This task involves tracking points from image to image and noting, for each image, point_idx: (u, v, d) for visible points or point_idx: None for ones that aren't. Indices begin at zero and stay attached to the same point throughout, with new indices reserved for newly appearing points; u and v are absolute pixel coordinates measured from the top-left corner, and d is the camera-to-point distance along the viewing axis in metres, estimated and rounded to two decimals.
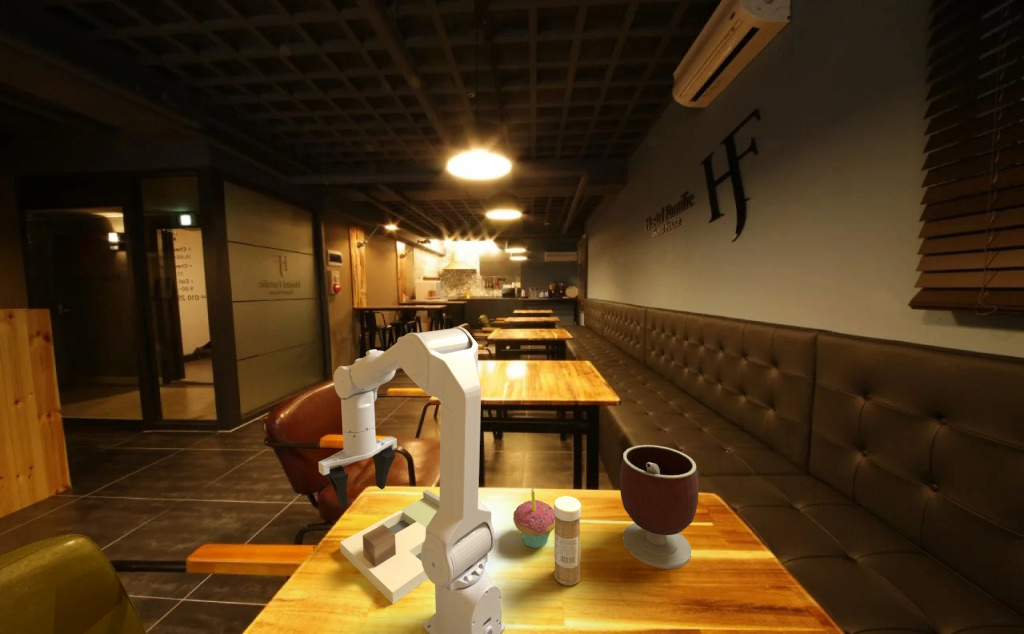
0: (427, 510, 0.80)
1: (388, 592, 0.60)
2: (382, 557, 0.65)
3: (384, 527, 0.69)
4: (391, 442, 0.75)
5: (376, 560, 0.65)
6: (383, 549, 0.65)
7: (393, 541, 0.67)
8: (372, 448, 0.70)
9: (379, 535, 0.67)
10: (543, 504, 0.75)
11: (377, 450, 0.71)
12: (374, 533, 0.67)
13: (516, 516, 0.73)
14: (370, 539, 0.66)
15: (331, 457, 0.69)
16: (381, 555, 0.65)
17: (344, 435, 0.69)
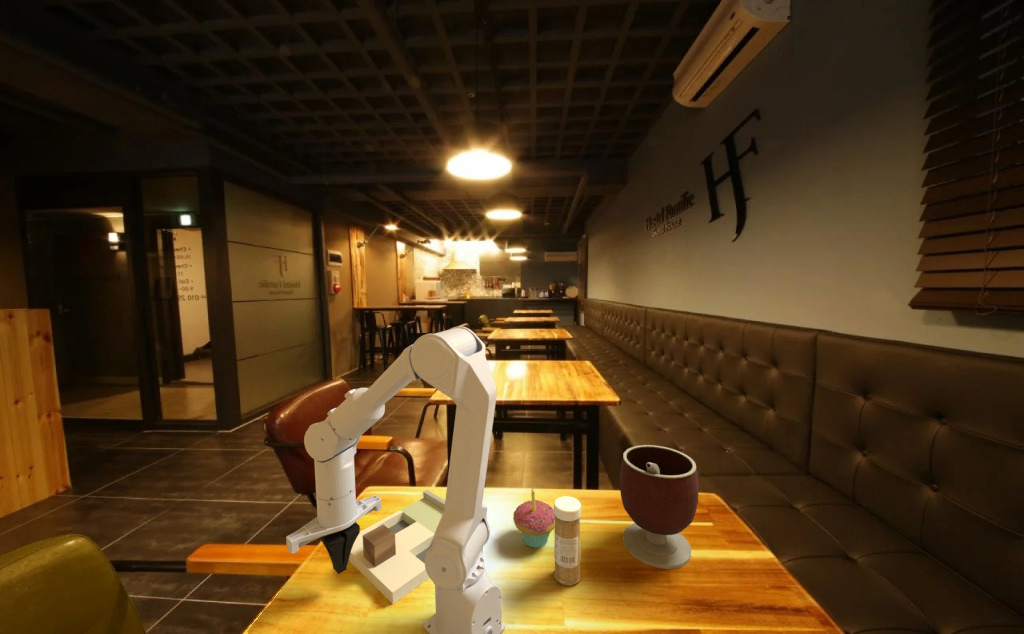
0: (427, 510, 0.80)
1: (388, 592, 0.60)
2: (382, 557, 0.65)
3: (384, 527, 0.69)
4: (375, 504, 0.65)
5: (376, 560, 0.65)
6: (383, 549, 0.65)
7: (393, 541, 0.67)
8: (351, 516, 0.60)
9: (379, 535, 0.67)
10: (543, 504, 0.75)
11: (357, 517, 0.61)
12: (374, 533, 0.67)
13: (516, 516, 0.73)
14: (370, 539, 0.66)
15: (302, 528, 0.58)
16: (381, 555, 0.65)
17: (318, 502, 0.58)
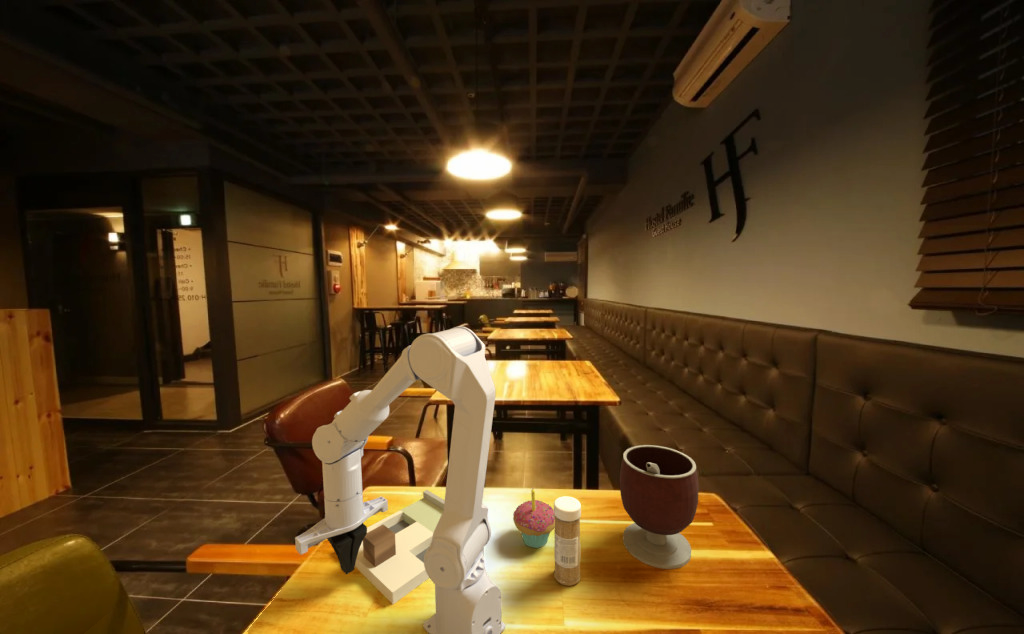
0: (427, 510, 0.80)
1: (388, 592, 0.60)
2: (382, 557, 0.65)
3: (384, 527, 0.69)
4: (381, 505, 0.66)
5: (376, 560, 0.65)
6: (383, 549, 0.65)
7: (393, 541, 0.67)
8: (358, 517, 0.61)
9: (379, 535, 0.67)
10: (543, 504, 0.75)
11: (364, 518, 0.62)
12: (374, 533, 0.67)
13: (516, 516, 0.73)
14: (370, 539, 0.66)
15: (310, 530, 0.59)
16: (381, 555, 0.65)
17: (326, 503, 0.59)
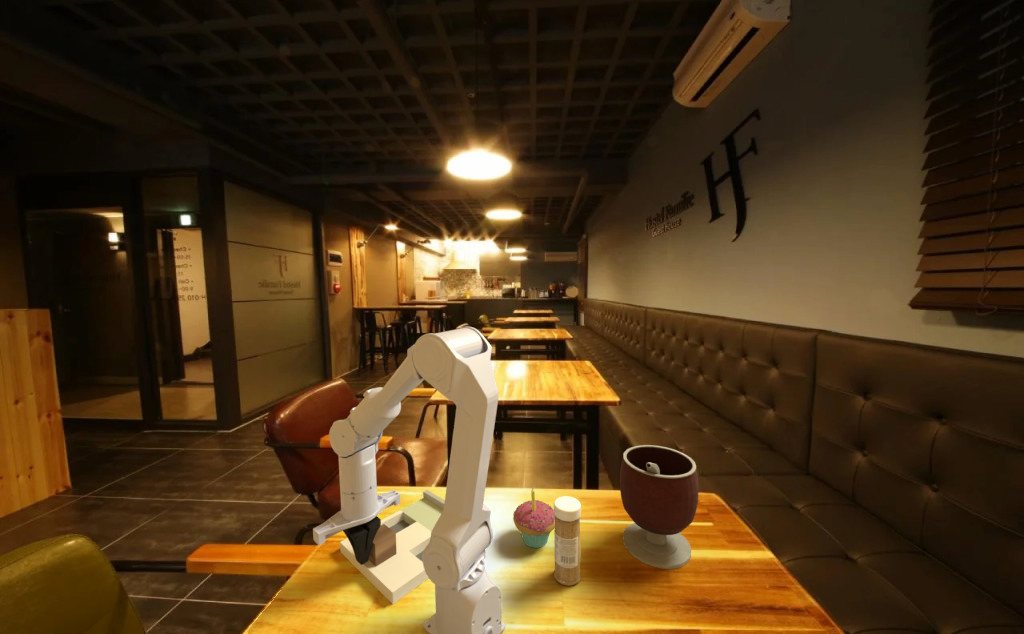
0: (427, 510, 0.80)
1: (388, 592, 0.60)
2: (383, 556, 0.66)
3: (385, 526, 0.69)
4: (394, 498, 0.68)
5: (377, 559, 0.65)
6: (383, 549, 0.66)
7: (394, 540, 0.67)
8: (373, 509, 0.63)
9: (380, 534, 0.67)
10: (543, 504, 0.75)
11: (379, 510, 0.64)
12: None
13: (516, 516, 0.73)
14: None
15: (327, 521, 0.61)
16: (382, 554, 0.65)
17: (342, 496, 0.61)
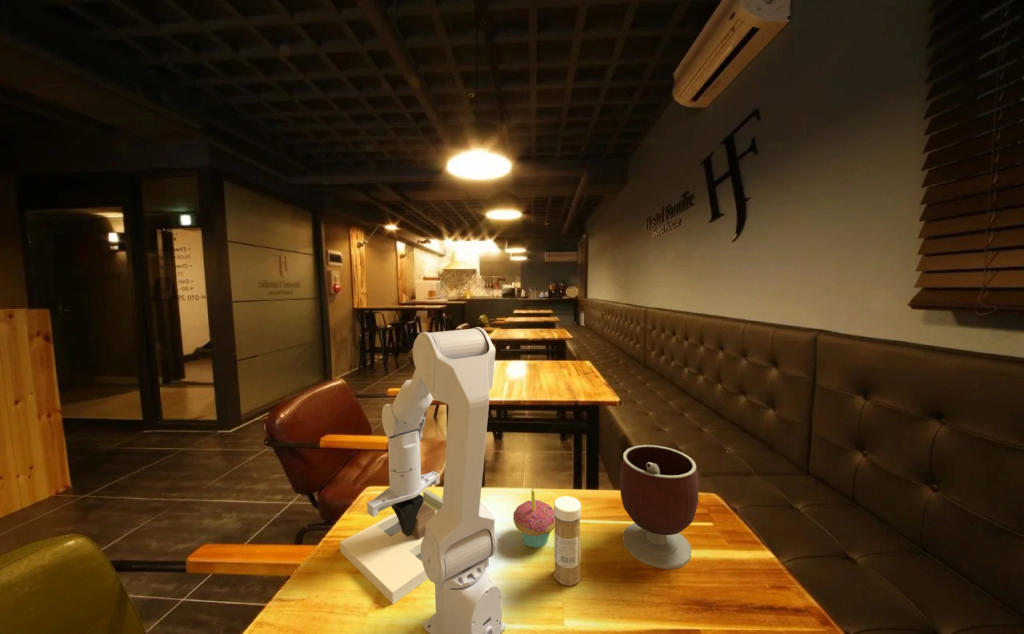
0: None
1: (388, 592, 0.60)
2: (424, 531, 0.72)
3: (424, 505, 0.76)
4: (434, 478, 0.75)
5: (419, 533, 0.71)
6: (425, 524, 0.72)
7: None
8: (418, 486, 0.70)
9: (421, 511, 0.74)
10: (543, 504, 0.75)
11: (423, 488, 0.71)
12: None
13: (516, 516, 0.73)
14: None
15: (378, 497, 0.68)
16: (423, 529, 0.72)
17: (391, 474, 0.68)
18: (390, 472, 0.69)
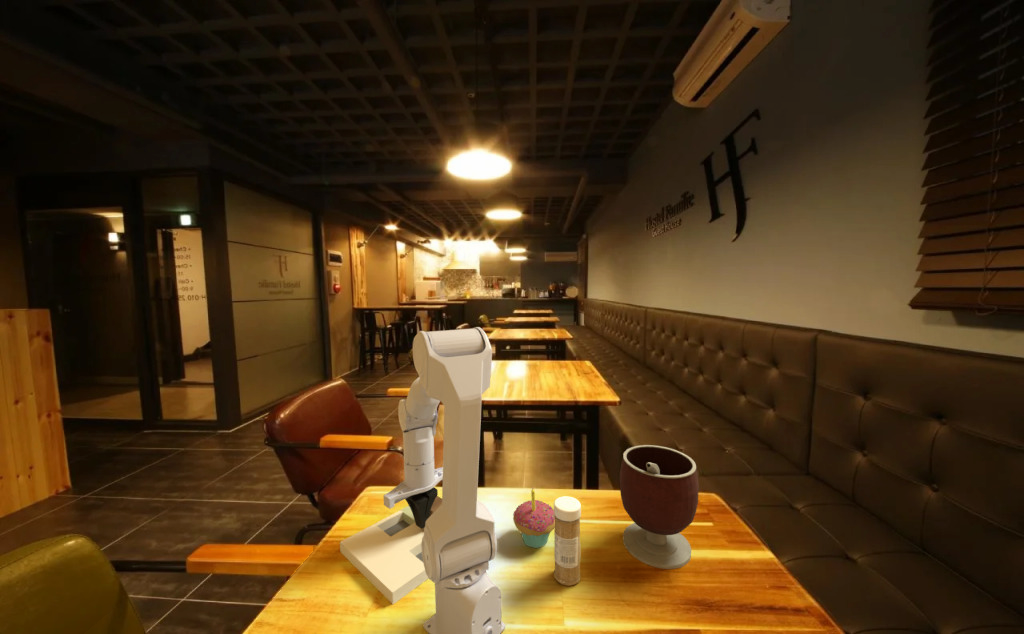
0: None
1: (388, 592, 0.60)
2: None
3: (438, 497, 0.78)
4: None
5: None
6: None
7: None
8: (432, 480, 0.72)
9: (435, 503, 0.76)
10: (543, 504, 0.75)
11: (436, 481, 0.73)
12: None
13: (516, 516, 0.73)
14: None
15: (394, 489, 0.70)
16: None
17: (406, 467, 0.71)
18: (405, 466, 0.71)
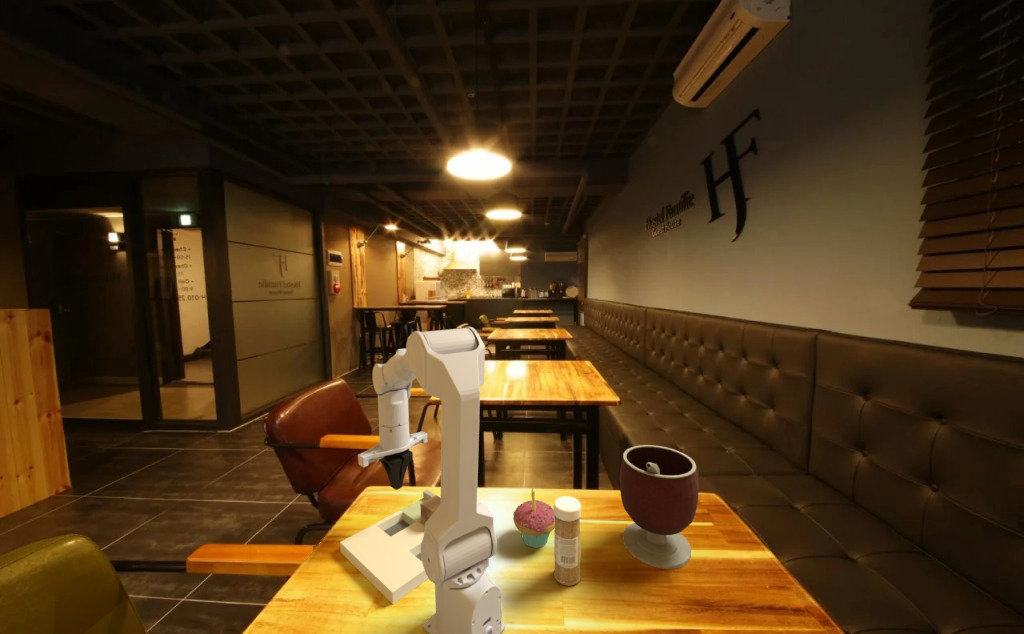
0: None
1: (388, 592, 0.60)
2: None
3: (438, 497, 0.78)
4: (422, 437, 0.79)
5: None
6: None
7: None
8: (407, 442, 0.74)
9: (435, 503, 0.76)
10: (543, 504, 0.75)
11: (411, 444, 0.75)
12: (430, 502, 0.77)
13: (516, 516, 0.73)
14: (428, 507, 0.75)
15: (369, 450, 0.72)
16: None
17: (381, 429, 0.73)
18: (380, 428, 0.73)
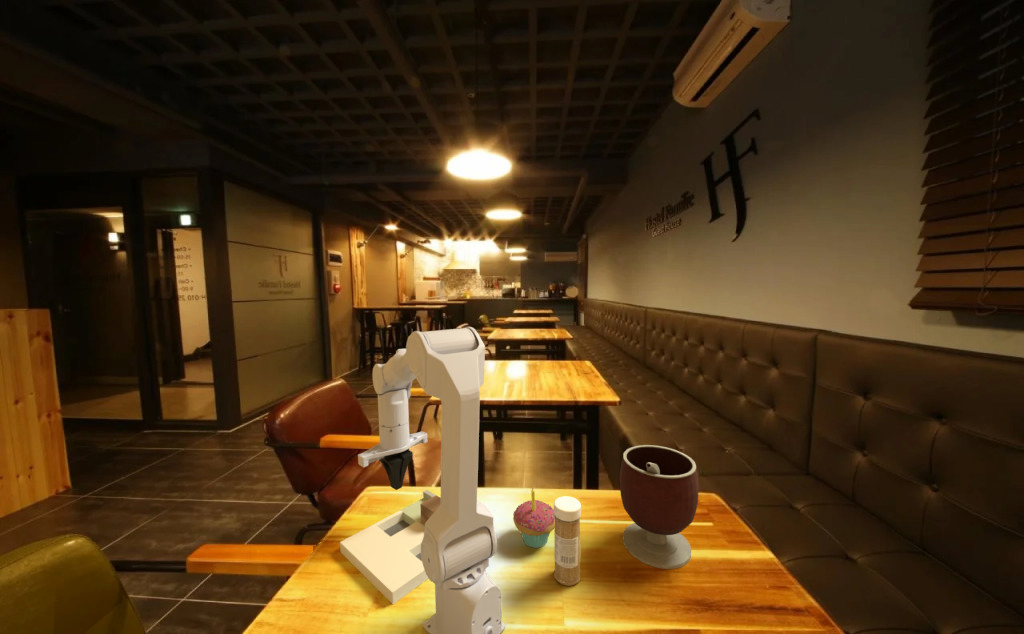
0: None
1: (388, 592, 0.60)
2: None
3: (438, 497, 0.78)
4: (422, 437, 0.79)
5: None
6: None
7: None
8: (407, 442, 0.74)
9: (435, 503, 0.76)
10: (543, 504, 0.75)
11: (411, 444, 0.75)
12: (430, 502, 0.77)
13: (516, 516, 0.73)
14: (428, 507, 0.75)
15: (369, 450, 0.72)
16: None
17: (381, 429, 0.73)
18: (380, 428, 0.73)
